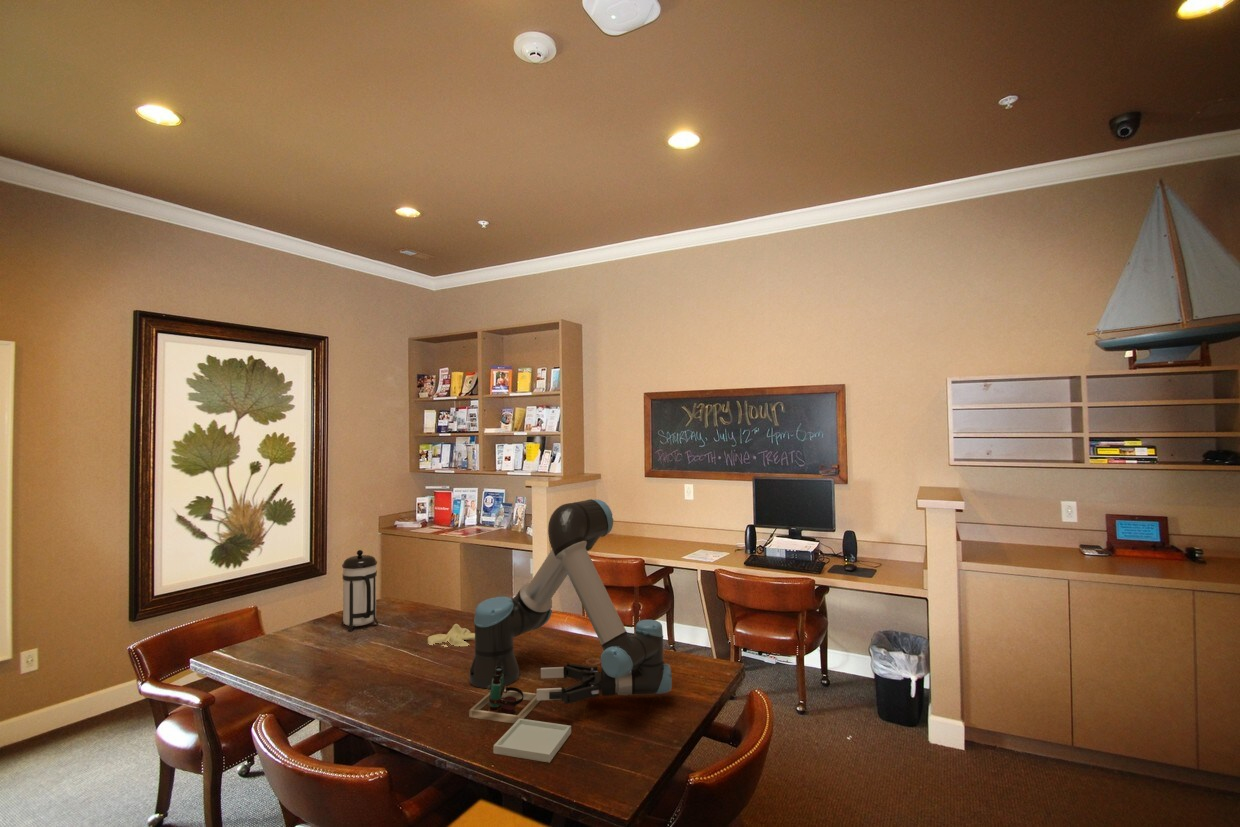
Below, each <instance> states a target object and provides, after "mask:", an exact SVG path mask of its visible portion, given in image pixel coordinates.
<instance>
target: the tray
mask: <svg viewBox="0 0 1240 827" xmlns="http://www.w3.org/2000/svg"><path fill="white" fill-rule="evenodd" d="M571 734H572V725H567V724H561V723H554V722H548V721H547V722H546V721H540V720H535V719H534V720H532V719H526V718H524V719H520V718H519V719H518V720H517V721H516V722H515V724H512V726H510V728H509V729H508V730H507V731H505V733H504V734H503V735H502V736H501V737H500V738H499V739H498V740H497V742H495V743H494V744H493V754H495V755H500V756H506V757H507V756H508V757H514V758H518V759H523V760H525V759H526V760H530V761H537V762H545V763H551V762H552V760H553V759H554V758H555V756H556V755H557V753H558V751H560V749H561V748H562V746H563V745H564V744H565V742H566V741H567V740H568V738H569V737H570V735H571Z"/></svg>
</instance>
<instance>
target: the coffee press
mask: <svg viewBox="0 0 1240 827" xmlns="http://www.w3.org/2000/svg"><path fill="white" fill-rule="evenodd" d="M377 564H378V560H376V558H375V557H374V556H373V555H368V554H364V551H363V550H362V549H359V550H357V552H356V555H353V556H350V557H347V558H346V559H345V560H344V561H343V563H342V565H341V566H342V567H341V568H342V571H343V572H342V594H343V595H342V596H343V597H342V603H343V604H342V616H343V617H342V619H343V620H342V622H341V624H340V625H341V626H342V625H343V624H345V625H346V626H348V627H347V632H353V631H354V629H355V627H359V626H360V627H361V626H365V625H368V624H371V625H372V626H373V627H377V626H378V625H379V621H378V620H377V572H378V571H377ZM374 622H375V623H374ZM345 625H344V626H345ZM374 625H376V626H374Z"/></svg>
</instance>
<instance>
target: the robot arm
mask: <svg viewBox="0 0 1240 827" xmlns="http://www.w3.org/2000/svg"><path fill="white" fill-rule="evenodd" d="M547 526H548V527H547V528H548V529H547V535H548V540H549V545H550V547H551V550H550V552H549V553H548V555H547V556H546V557H545V559H544V561H543V563H542V564H541V566H540V567H539V569H538V570H537V572H535V575H534V576H533V577H532V579H531V581H530V582H529V583H525V584H523V585H522V586H521V588H520V589H519V591H518V592H517V593H516V595H515V596H513V597H512V598H511V597H508V596H496V597H490V598H487V599H484V600H482V601H481V602H479V603H478V604H477V606H476V608H475V610H474V618H473V622H474V633H475V640H474V657H473V659H472V662H471V666H470V670H469V673H468V675H469V678H468V680H469V683H470V684H471V686H473V687H477V688H482V689H488V685H491V683H492V680H493V675H495V674H496V672H495V668H496V667H497V666H502V667H503V671H502V673H501V674H504V683H503V687H504V686H505V687H507V686H508V685H511V684H513V683H515V682H516V681H517V680H518V679H519V677H520V666H519V664H518V662H517V658H516V655H515V652H514V639H515V637H519V636H520V635H523V634H525V633H527V632H531V631H533V630H537V629H539V628H541V627H543V626H544V625H545V624H547V622H549V620H550V619H551V616H552V613H553V612H552V608H553V599H552V598H553V597H554V595H555V594H556V593H557V591H558V589H560V587H561V585H562V584H563V583H564V581H565V580H566V578H567V576H568V577H569V579H570V582H571V584H572V585H573V588H574V590H575V593H576V594H577V596H578V599H579V602H581V606H582V607H583V609H584V611H585V613H586V615H587V617H588V619H589V622H590V624H591V626H592V628H593V630H594V632H595V634H596V636H597V639H598V640H599V643H600V644H601V647H602V649H603V651H602V652H601V655H600V665H601V668H600V669H601V670H600V672H599V667H598V666H588V665H583V664H576V663H572V662H571V663H569V662H568V663H566V664H565V665H564V666H558V667H557V666H556V667H555V666H554V667H552V666H551V667H540V679H562V678H564V679H567V678H571V679H573V680H577V681H580V682H578V683H576V684H573V685H570V686H568V687H566V688H565V687H564V686H562V687H551V688H546V687H545V688H536V694H537V700H541V701H554V700H555V701H557V700H558V701H559V700H561V701H562V702H563V704H564V705H568V704H572V703H575V702H578V701H582V700H586V699H589V698H598V697H600V691H601V695H602V696H604V697H605V696H608V697H609V696H610V697H611V696H615V695H616V693H617V695H618V696H624V697H627V696H628V695H629V696H630V695H651V694H652V695H657V694H658V695H659V694H665V693H669V692H671V690H672V686H673V685H672V684H673V681H672V680H673V679H672V669H671V666H670V664H669V663H665V662H664V635H663V634H664V633H663V632H664V631H663V624H662V623H661V622H660V621H658V620H656V619H655V620H654V619H641V620H639V621H638V622H637V623H636V624H635V633H634V634H632V635H631V636H630V635H629V633H628V632H627V630H626V628H625V625H624V623H623V621H622V620H621V617H620V616H619V613H618V611H617V609H616V607H615V604H614V603H613V602H612V601H613V600H612V599H611V596H610V594H609V593H608V591H607V588H606V586H605V585H604V582H603V581H602V578H601V577H600V575H599V573H598V571H597V568H596V566H595V564H594V563H593V561H592V560H593V559H591V558H592V557H591V556H590V554H589V551H591V550H592V549H593V547H594V546H595V544H596V543H597V542H598V540H599V539H600V538H604V537H606V536H608V534H609V533H610V532H611V531H612V530H613V526H614V518H613V512H612V509H611V508H610V506H609V505H608V504H607V503H606V502H605V501H603V500H601V499H597V498H596V499H592V498H591V499H587V500H581V501H575V502H568V503H563V504H561V505H559V506H558V507H557V508H556V509H555V510H554V511H553V512H552V514H551V515H550V518H549V521H548V525H547ZM506 685H507V686H506Z"/></svg>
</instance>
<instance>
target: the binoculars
mask: <svg viewBox="0 0 1240 827" xmlns="http://www.w3.org/2000/svg"><path fill="white" fill-rule="evenodd" d="M502 671H503V667H502V666H497V667H496V668H495V672H496V674H495V675H493V680H492V683H491V685H488V688H487V690H488V691H489V693H490V695H489V702H488V704H489V708H488V710H487V711H490V712H497V713H504V714H511V715H514V714H515V710H516V709H515V706H516V705H520V704H521V703H523V701H524V700H523V692H524V691H523V690H521V689H520V688H518V687H515V686H508V685H506V686H503V683H504V674H501V673H502ZM504 690H506V692H504ZM507 691H516V692H518V693H520V694H521V695H522V699H516V698H515V697H512V696H508V697H502V695H503V692H504V693H507ZM500 706H501V707H500Z"/></svg>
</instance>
